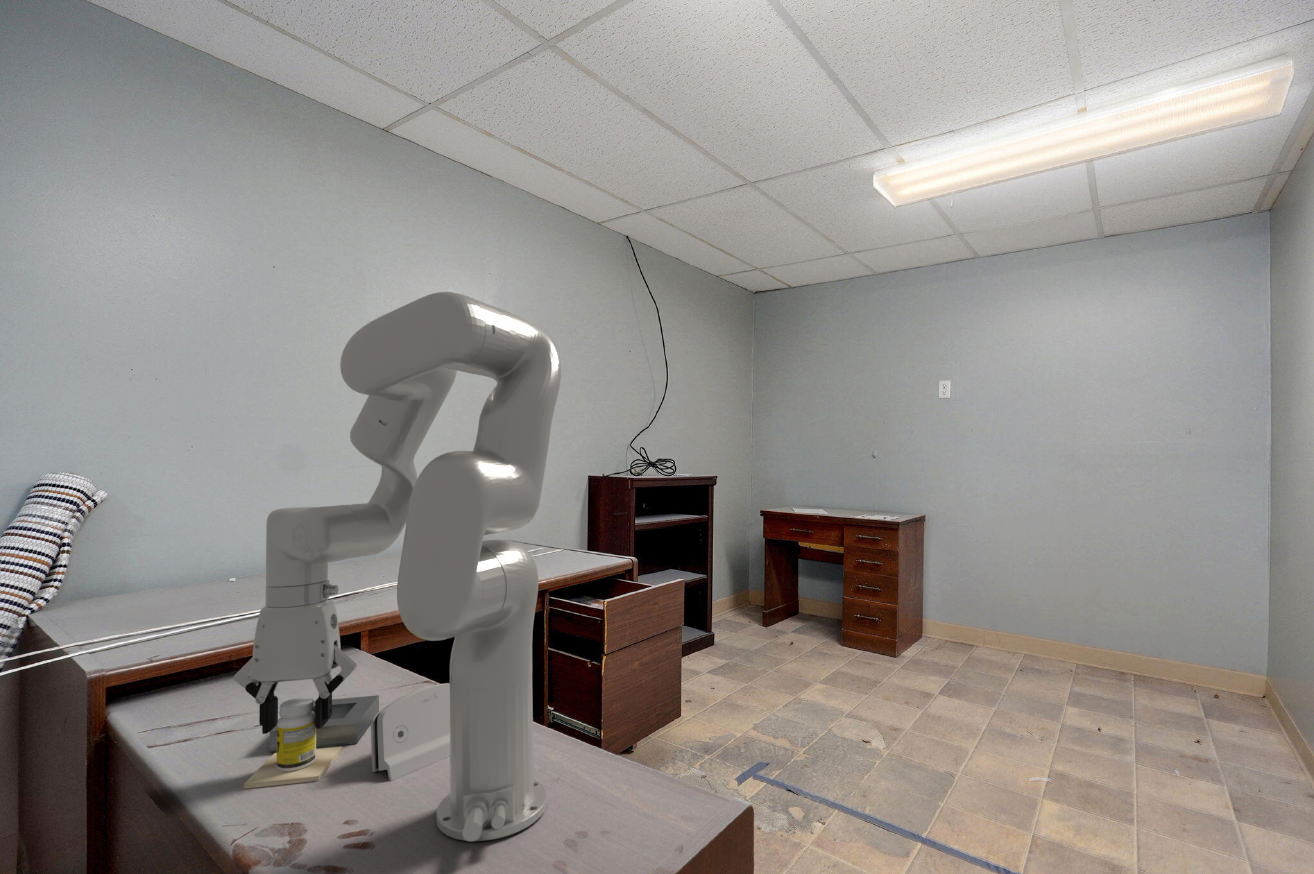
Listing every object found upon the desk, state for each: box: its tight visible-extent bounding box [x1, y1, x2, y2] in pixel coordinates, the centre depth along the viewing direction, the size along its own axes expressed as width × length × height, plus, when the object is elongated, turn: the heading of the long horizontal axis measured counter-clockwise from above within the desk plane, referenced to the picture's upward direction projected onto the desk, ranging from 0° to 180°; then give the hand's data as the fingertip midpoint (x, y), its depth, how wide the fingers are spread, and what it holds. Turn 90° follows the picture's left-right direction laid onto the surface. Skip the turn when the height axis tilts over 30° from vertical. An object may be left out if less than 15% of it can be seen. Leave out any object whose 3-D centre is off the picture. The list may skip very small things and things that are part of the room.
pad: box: [243, 745, 343, 790], centre depth 84 cm, size 9×9×1 cm
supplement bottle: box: [276, 696, 317, 772], centre depth 84 cm, size 5×5×8 cm
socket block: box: [269, 695, 380, 753], centre depth 96 cm, size 12×12×3 cm
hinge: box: [370, 682, 450, 782], centre depth 88 cm, size 17×5×10 cm, turn 141°
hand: (296, 725), depth 84 cm, fingers open, 6 cm apart
